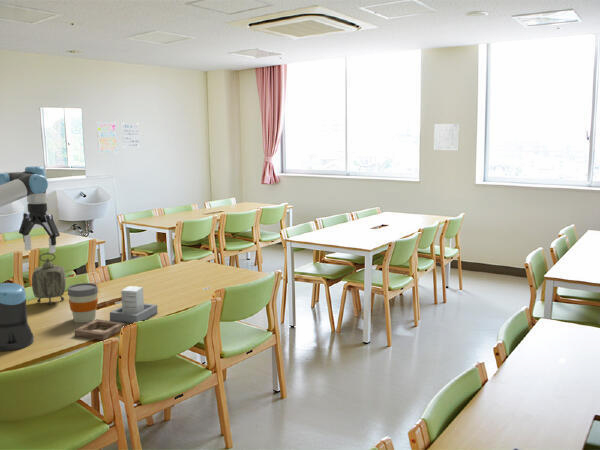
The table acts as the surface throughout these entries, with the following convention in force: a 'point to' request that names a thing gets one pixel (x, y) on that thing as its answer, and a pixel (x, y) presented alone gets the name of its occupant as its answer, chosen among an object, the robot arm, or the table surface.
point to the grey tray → (131, 318)
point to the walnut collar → (87, 333)
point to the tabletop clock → (48, 280)
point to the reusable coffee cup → (83, 301)
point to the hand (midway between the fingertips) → (40, 251)
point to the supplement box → (132, 300)
